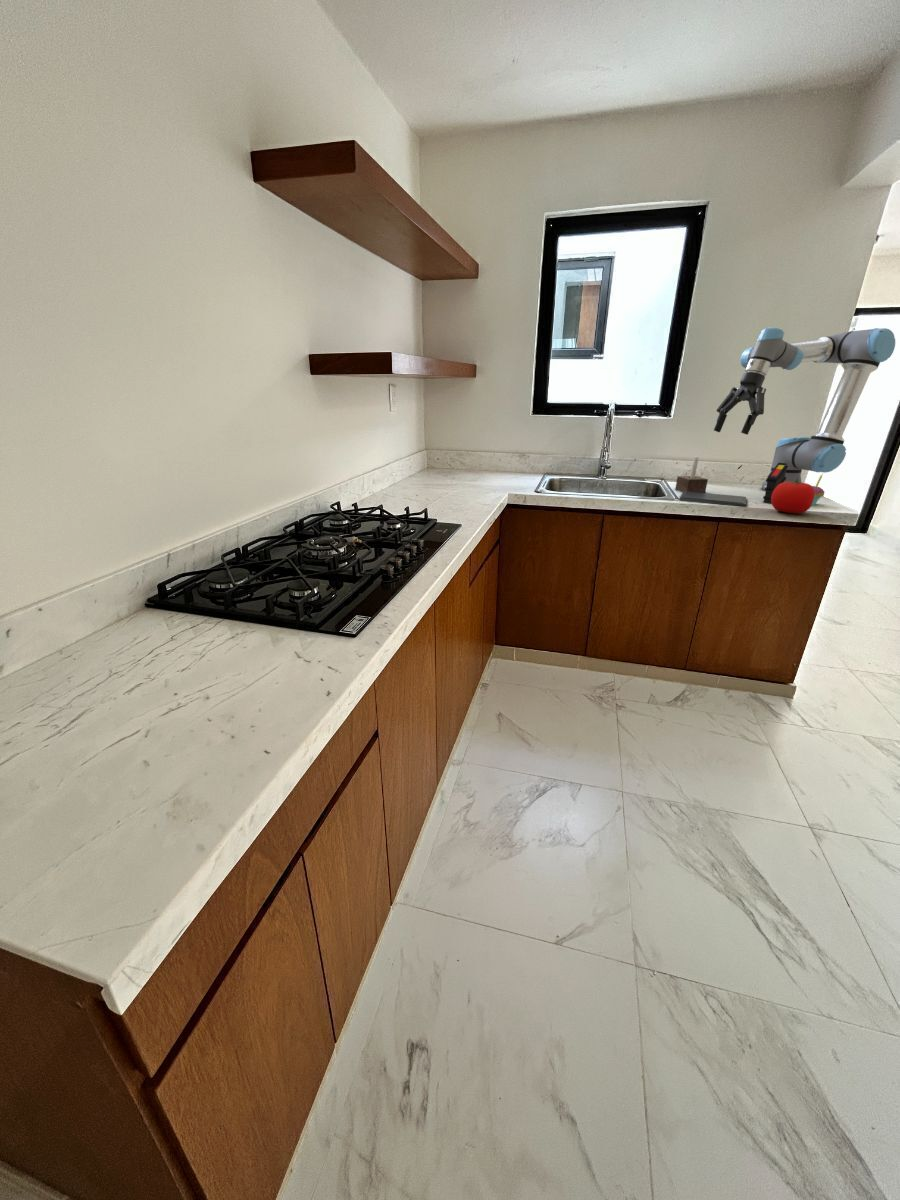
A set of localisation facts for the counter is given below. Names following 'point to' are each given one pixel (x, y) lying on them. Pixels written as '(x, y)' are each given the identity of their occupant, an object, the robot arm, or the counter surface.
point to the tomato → (792, 497)
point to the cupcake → (817, 492)
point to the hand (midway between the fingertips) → (730, 432)
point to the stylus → (694, 467)
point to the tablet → (713, 498)
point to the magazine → (775, 480)
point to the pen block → (691, 484)
